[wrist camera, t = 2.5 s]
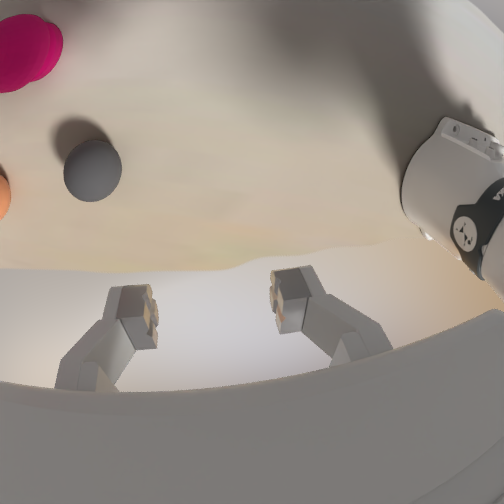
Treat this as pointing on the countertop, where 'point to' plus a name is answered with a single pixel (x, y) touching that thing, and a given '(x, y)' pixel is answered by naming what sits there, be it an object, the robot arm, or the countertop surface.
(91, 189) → the dark grey ball
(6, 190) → the object ball
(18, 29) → the pepper mill
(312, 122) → the countertop surface
